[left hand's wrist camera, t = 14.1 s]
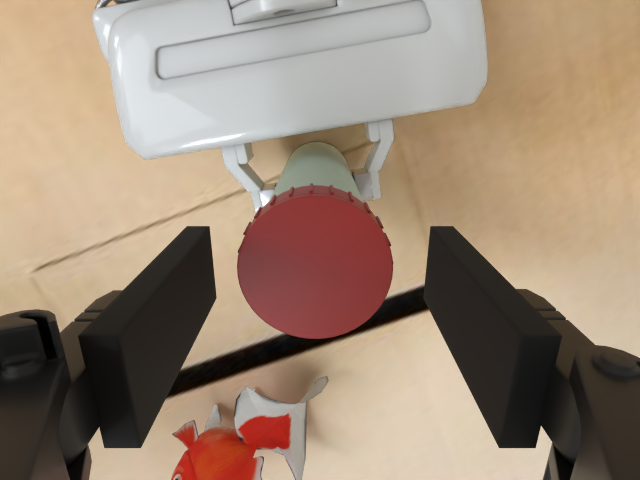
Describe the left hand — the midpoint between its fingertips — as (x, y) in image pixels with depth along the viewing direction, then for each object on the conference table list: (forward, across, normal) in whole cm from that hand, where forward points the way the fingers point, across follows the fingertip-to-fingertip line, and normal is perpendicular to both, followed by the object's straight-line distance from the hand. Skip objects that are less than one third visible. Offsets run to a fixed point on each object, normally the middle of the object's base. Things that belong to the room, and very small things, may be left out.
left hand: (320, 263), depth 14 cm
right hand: (+12, 0, -1) cm, 12 cm away
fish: (+18, -6, -22) cm, 29 cm away
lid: (0, 0, 0) cm, 0 cm away
